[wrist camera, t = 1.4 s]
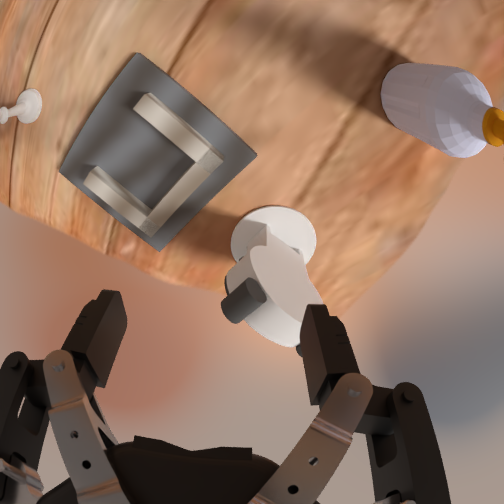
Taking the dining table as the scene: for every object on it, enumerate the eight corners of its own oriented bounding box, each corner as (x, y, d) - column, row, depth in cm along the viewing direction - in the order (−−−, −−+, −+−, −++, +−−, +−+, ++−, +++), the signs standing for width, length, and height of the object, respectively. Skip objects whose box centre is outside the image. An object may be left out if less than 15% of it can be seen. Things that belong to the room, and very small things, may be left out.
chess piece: (31, 81, 22) (-21, 95, 14) (47, 105, 24) (-5, 124, 16) (13, 106, 23) (-36, 127, 15) (28, 130, 26) (-20, 155, 18)
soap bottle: (384, 135, 29) (543, 259, 9) (373, 62, 24) (571, 99, 4) (440, 130, 28) (589, 231, 8) (434, 64, 23) (608, 116, 3)
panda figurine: (209, 245, 37) (195, 336, 25) (267, 184, 33) (282, 262, 20) (275, 288, 42) (285, 375, 30) (332, 239, 37) (368, 324, 25)
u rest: (62, 168, 30) (50, 177, 27) (140, 52, 23) (130, 51, 20) (161, 247, 37) (156, 261, 35) (256, 153, 30) (258, 161, 28)
